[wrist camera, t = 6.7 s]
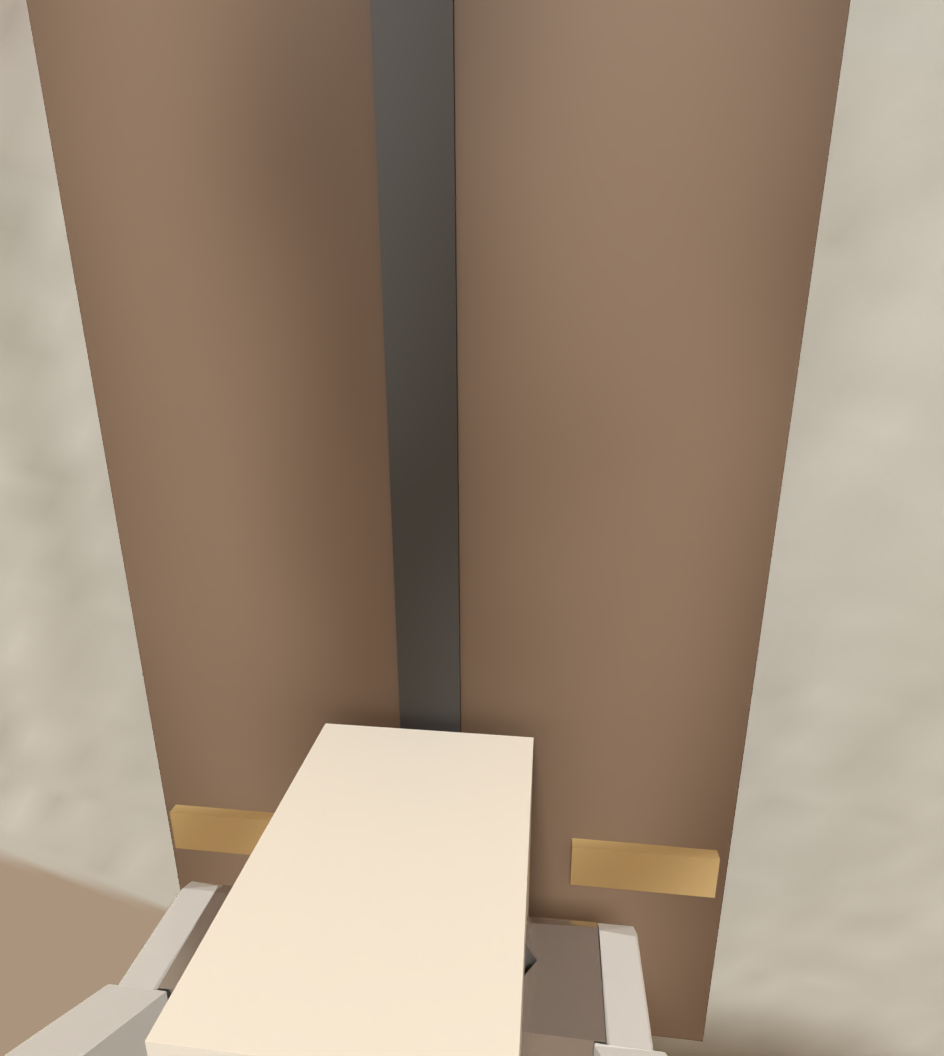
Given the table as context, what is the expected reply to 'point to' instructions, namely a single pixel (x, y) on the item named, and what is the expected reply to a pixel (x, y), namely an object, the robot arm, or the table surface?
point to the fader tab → (373, 908)
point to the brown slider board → (453, 399)
